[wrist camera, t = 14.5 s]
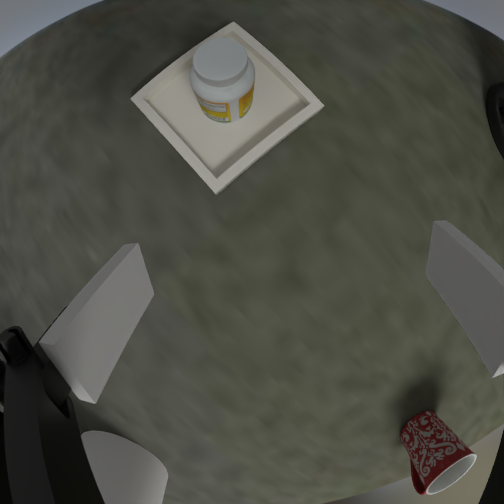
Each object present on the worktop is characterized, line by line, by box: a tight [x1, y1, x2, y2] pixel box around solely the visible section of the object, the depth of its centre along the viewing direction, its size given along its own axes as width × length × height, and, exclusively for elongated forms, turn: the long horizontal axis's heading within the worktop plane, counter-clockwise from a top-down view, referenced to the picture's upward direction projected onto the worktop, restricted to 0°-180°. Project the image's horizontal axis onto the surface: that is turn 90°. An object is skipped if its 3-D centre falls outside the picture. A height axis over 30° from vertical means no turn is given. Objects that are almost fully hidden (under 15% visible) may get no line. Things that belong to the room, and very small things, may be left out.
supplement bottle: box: [190, 37, 255, 124], centre depth 21 cm, size 5×5×10 cm
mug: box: [400, 411, 477, 495], centre depth 29 cm, size 13×9×14 cm
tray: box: [131, 22, 324, 194], centre depth 26 cm, size 14×14×2 cm
